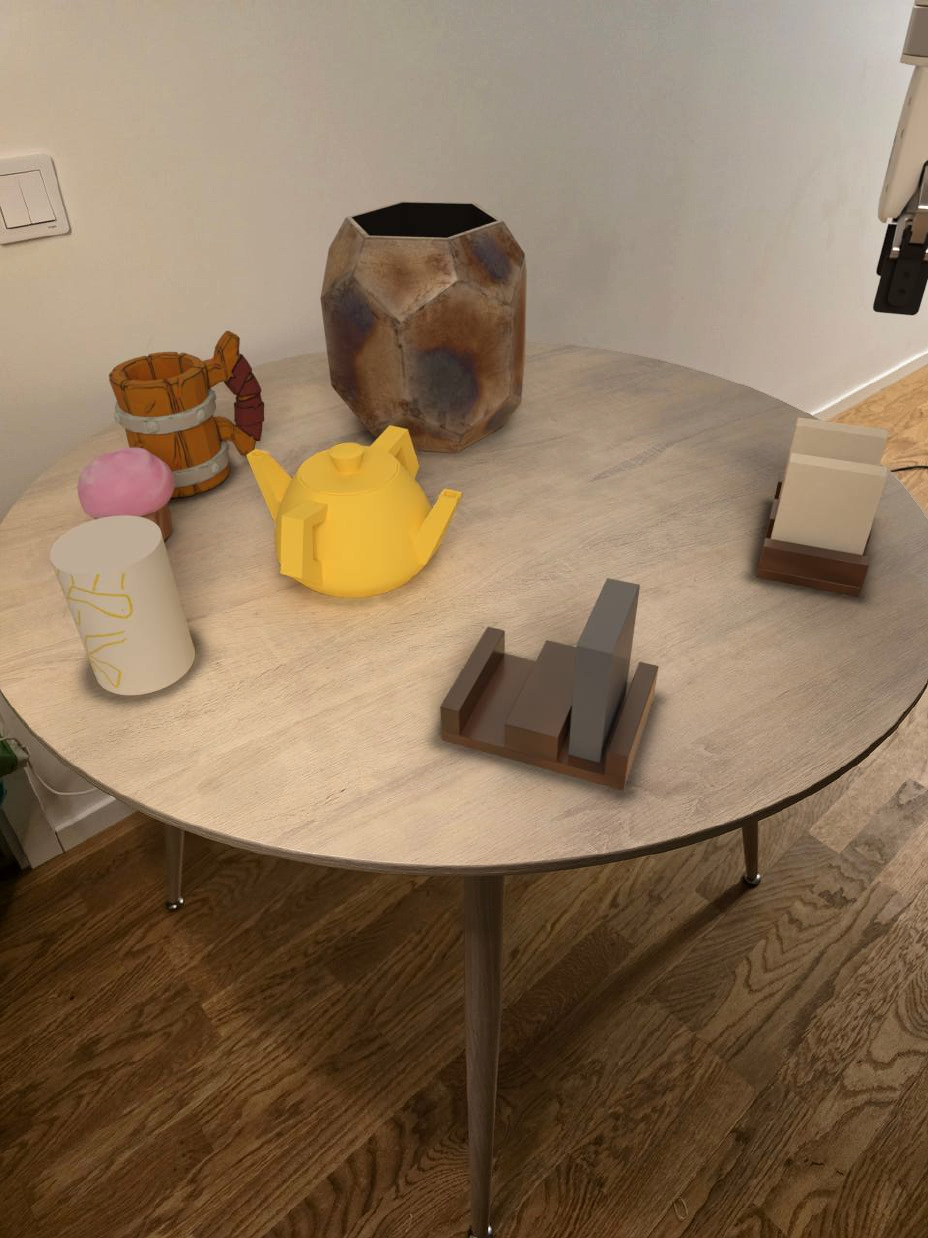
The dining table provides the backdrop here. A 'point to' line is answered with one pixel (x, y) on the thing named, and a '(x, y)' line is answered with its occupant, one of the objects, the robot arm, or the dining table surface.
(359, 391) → the planter
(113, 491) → the cupcake
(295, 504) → the teapot
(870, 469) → the white book
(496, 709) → the rack
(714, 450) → the dining table surface
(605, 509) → the dining table surface
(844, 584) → the rack
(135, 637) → the cup
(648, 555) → the dining table surface
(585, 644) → the grey book
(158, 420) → the mug
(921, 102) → the robot arm
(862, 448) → the white book
